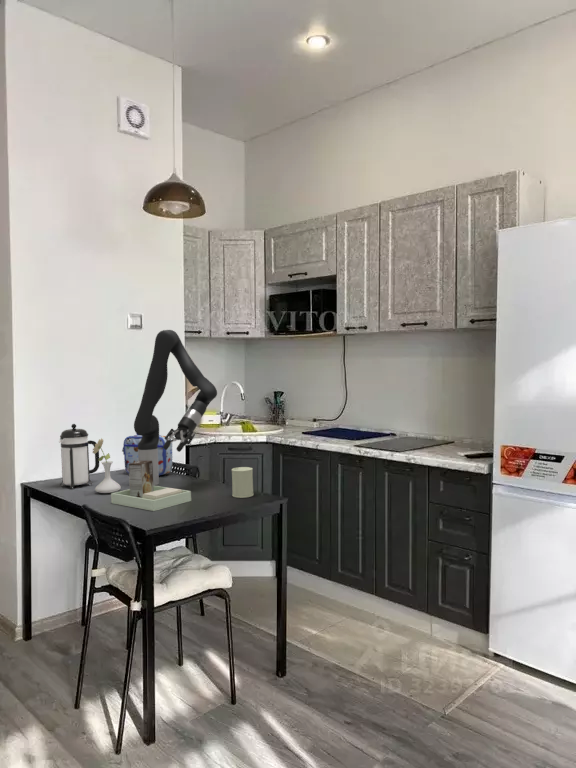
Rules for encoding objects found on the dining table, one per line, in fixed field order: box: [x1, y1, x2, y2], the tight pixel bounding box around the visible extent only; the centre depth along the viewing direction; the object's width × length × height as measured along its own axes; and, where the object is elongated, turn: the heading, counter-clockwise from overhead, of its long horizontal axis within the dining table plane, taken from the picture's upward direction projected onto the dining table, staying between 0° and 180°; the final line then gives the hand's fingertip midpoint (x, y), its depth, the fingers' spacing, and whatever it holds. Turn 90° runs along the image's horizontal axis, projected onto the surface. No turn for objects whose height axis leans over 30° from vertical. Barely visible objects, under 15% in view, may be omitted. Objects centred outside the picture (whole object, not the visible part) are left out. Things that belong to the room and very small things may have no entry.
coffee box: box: [128, 461, 154, 498], centre depth 260 cm, size 9×6×16 cm
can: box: [231, 466, 254, 499], centre depth 269 cm, size 9×9×12 cm
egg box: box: [142, 487, 182, 500], centre depth 253 cm, size 8×14×5 cm, turn 143°
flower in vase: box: [92, 437, 122, 494], centre depth 282 cm, size 13×11×25 cm
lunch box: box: [121, 432, 173, 476], centre depth 324 cm, size 28×10×22 cm, turn 68°
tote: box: [110, 485, 192, 512], centre depth 257 cm, size 26×20×5 cm
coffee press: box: [58, 423, 100, 489], centre depth 300 cm, size 17×16×30 cm
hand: (171, 449), depth 274 cm, fingers open, 8 cm apart
